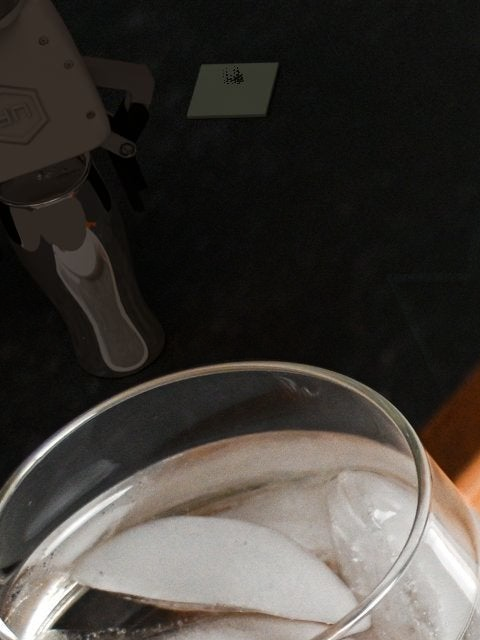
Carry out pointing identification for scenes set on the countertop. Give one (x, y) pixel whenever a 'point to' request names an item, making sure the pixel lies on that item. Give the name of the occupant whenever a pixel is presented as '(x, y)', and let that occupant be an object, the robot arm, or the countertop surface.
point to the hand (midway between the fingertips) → (65, 224)
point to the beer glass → (82, 264)
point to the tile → (233, 91)
